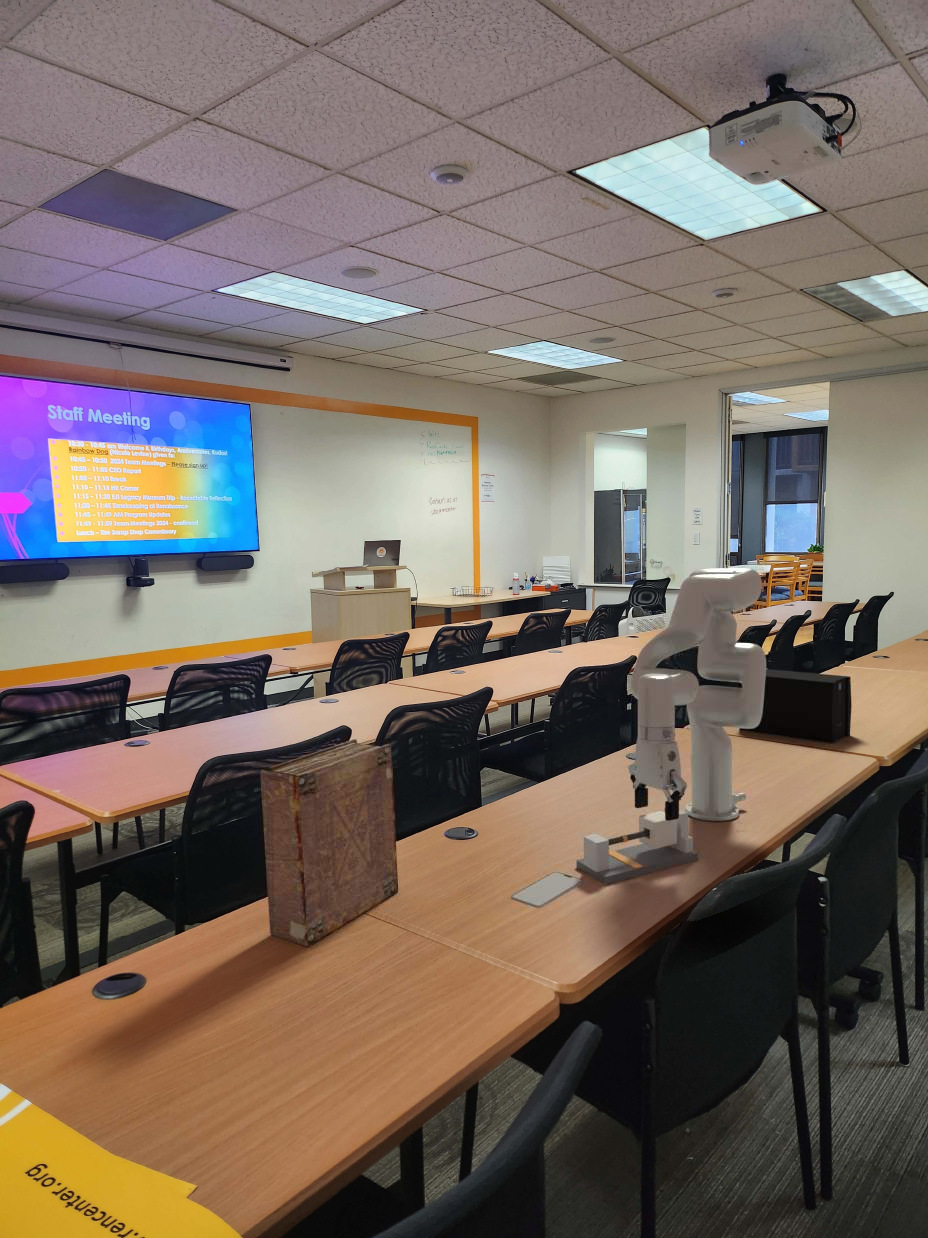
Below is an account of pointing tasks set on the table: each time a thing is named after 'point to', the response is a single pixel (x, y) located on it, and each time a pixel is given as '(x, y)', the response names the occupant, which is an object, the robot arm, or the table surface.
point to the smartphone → (547, 889)
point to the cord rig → (634, 854)
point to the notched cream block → (658, 830)
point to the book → (328, 839)
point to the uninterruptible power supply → (805, 706)
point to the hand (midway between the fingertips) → (656, 813)
